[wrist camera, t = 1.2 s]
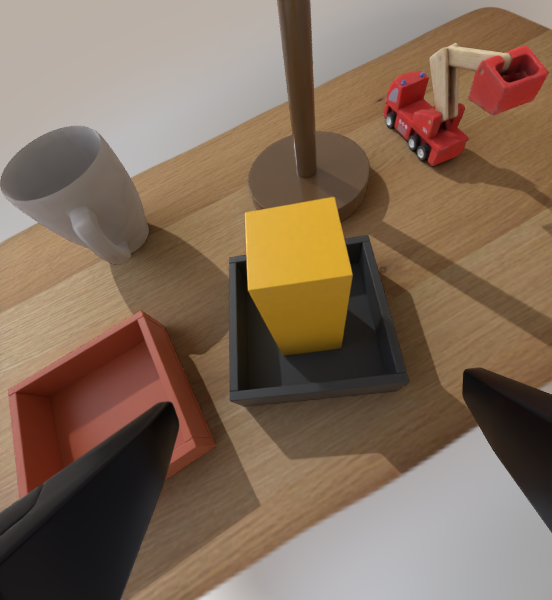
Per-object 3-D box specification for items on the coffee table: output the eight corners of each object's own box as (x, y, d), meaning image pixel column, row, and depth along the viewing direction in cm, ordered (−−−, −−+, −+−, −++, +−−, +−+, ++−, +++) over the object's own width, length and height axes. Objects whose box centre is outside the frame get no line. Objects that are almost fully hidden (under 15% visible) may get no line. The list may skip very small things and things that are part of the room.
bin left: (216, 445, 21) (196, 446, 17) (74, 541, 19) (25, 561, 16) (164, 325, 26) (141, 309, 22) (48, 395, 24) (7, 389, 21)
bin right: (397, 391, 20) (410, 382, 17) (243, 406, 22) (229, 401, 18) (363, 260, 25) (368, 234, 22) (240, 279, 27) (228, 257, 23)
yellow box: (341, 348, 22) (353, 275, 12) (282, 356, 22) (247, 290, 12) (331, 296, 24) (334, 196, 14) (278, 303, 24) (244, 212, 14)
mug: (81, 230, 33) (-5, 157, 24) (150, 194, 34) (90, 110, 25) (104, 310, 27) (4, 252, 19) (186, 264, 28) (125, 189, 20)
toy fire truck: (405, 107, 33) (432, -9, 25) (484, 182, 27) (558, 61, 18) (378, 118, 33) (396, 5, 24) (451, 195, 27) (511, 80, 18)
